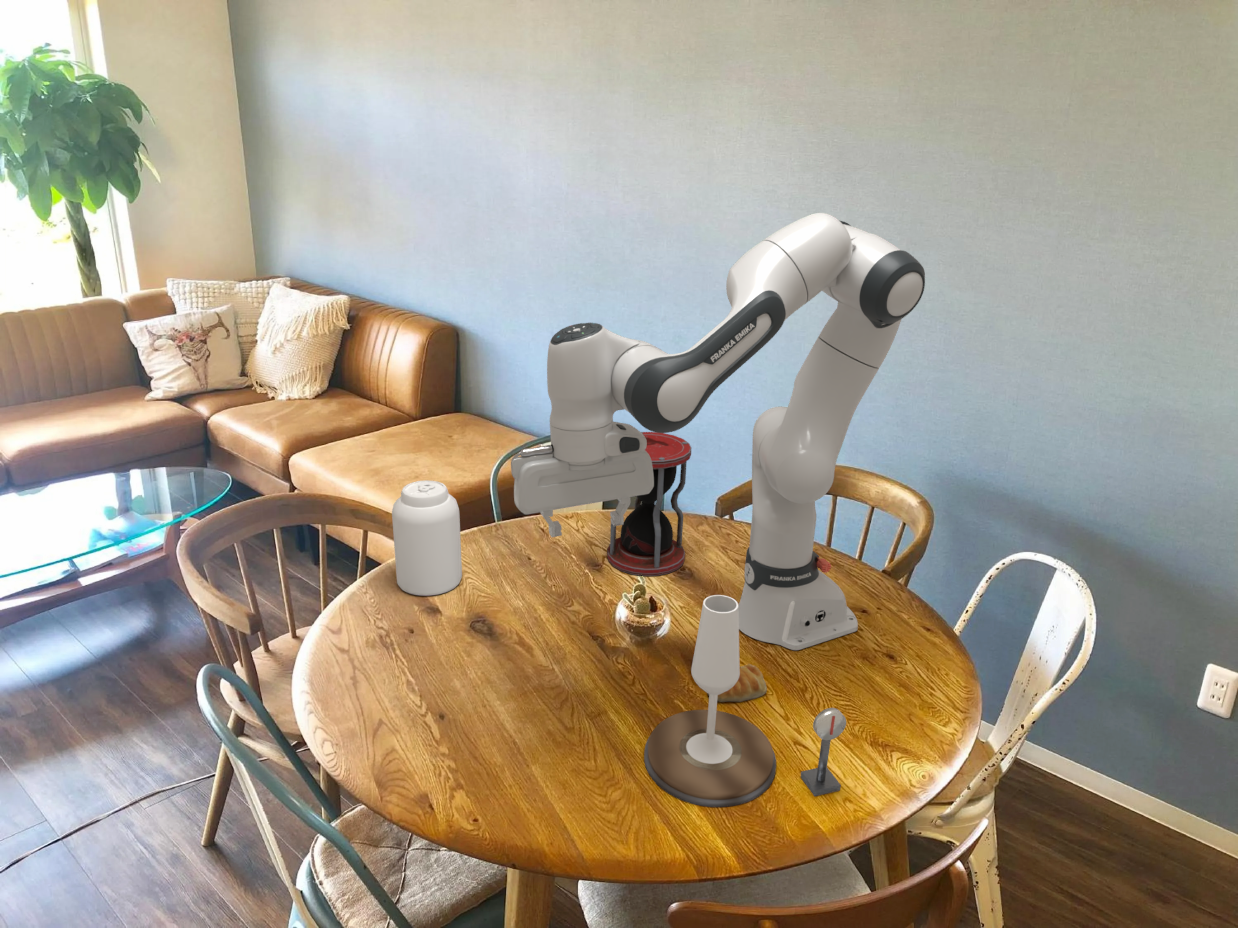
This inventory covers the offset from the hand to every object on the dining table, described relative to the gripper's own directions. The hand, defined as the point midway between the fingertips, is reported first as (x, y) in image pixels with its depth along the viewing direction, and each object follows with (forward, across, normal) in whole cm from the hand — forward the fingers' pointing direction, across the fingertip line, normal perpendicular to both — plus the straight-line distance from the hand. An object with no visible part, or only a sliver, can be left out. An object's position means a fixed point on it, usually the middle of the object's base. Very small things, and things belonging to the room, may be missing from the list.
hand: (586, 529), depth 134 cm
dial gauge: (+32, +24, -27) cm, 49 cm away
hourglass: (+30, +25, +43) cm, 58 cm away
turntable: (+31, +12, -18) cm, 38 cm away
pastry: (+32, +23, -4) cm, 40 cm away
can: (+28, -19, +46) cm, 57 cm away
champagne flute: (+30, +12, -18) cm, 36 cm away
